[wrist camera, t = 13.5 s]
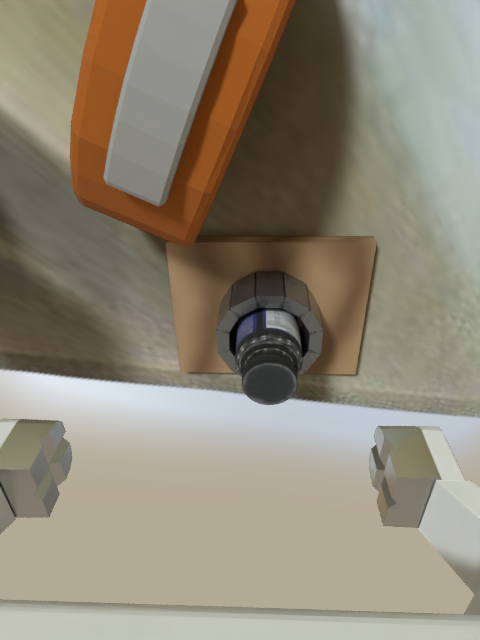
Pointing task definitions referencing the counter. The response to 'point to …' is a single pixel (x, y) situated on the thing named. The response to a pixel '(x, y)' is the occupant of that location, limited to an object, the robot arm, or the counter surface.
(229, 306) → the rosette collar
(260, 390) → the pill bottle
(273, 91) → the counter surface
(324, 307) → the collar base board
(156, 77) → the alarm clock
